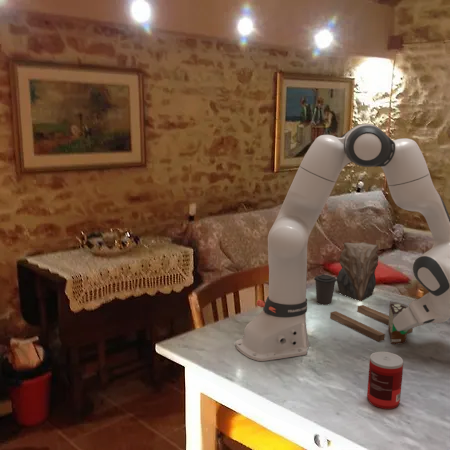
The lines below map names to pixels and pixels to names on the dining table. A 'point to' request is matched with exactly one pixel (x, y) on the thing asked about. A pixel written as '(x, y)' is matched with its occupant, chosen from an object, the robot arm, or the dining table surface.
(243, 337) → the robot arm
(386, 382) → the canned food
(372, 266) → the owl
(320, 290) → the coffee cup
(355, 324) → the walnut bay
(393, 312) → the food container
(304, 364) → the dining table surface
